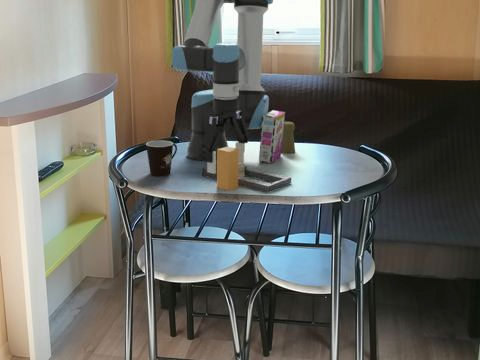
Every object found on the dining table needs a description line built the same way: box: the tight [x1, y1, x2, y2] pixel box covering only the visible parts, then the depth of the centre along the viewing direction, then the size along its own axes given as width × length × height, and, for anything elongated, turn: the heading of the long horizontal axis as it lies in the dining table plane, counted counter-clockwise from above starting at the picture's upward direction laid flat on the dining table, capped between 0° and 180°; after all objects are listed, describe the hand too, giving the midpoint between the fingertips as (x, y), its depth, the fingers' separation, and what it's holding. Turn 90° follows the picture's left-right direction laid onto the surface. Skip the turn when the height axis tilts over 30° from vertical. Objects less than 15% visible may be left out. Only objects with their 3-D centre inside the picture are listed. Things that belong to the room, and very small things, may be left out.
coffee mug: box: [145, 140, 178, 177], centre depth 217 cm, size 12×9×10 cm
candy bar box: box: [258, 109, 286, 164], centre depth 234 cm, size 11×5×16 cm, turn 159°
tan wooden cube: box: [238, 164, 245, 178], centre depth 214 cm, size 4×4×4 cm
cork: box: [281, 121, 296, 155], centre depth 246 cm, size 6×6×11 cm
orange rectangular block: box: [216, 146, 239, 192], centre depth 203 cm, size 4×4×12 cm
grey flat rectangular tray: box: [238, 167, 292, 193], centre depth 209 cm, size 17×12×2 cm
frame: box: [201, 162, 248, 180], centre depth 217 cm, size 10×11×2 cm
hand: (225, 168), depth 203 cm, fingers open, 12 cm apart
